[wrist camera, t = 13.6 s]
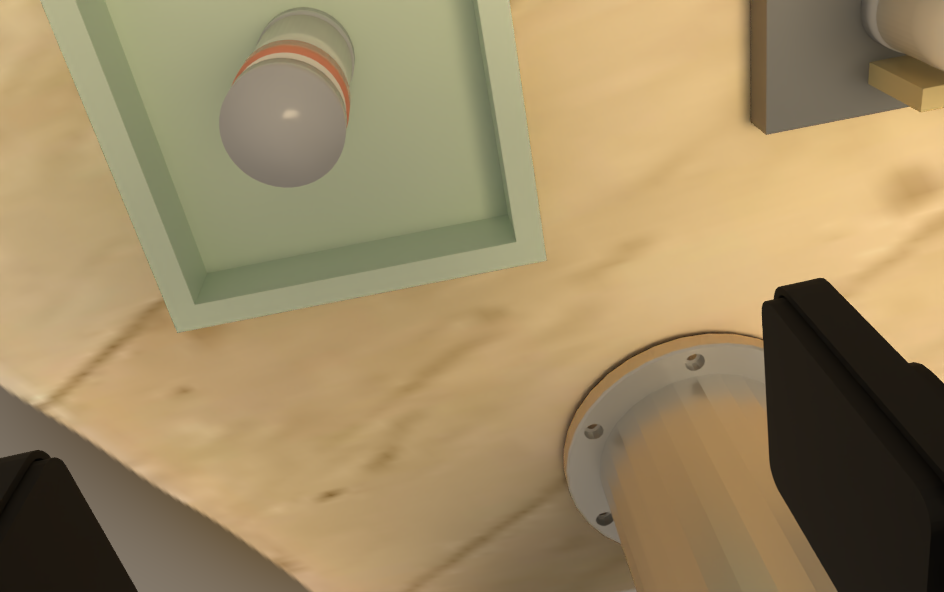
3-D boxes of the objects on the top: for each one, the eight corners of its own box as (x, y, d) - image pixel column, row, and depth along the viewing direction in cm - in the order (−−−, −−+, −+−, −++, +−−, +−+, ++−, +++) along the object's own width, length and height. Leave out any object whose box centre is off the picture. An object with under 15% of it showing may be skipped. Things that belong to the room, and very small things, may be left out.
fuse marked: (365, 93, 30) (359, 175, 23) (273, 111, 30) (240, 198, 23) (342, -3, 29) (328, 54, 22) (244, 16, 29) (200, 79, 22)
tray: (532, 223, 34) (546, 260, 31) (194, 290, 34) (177, 332, 31) (464, -237, 26) (474, -244, 23) (24, -149, 26) (-20, -145, 23)
